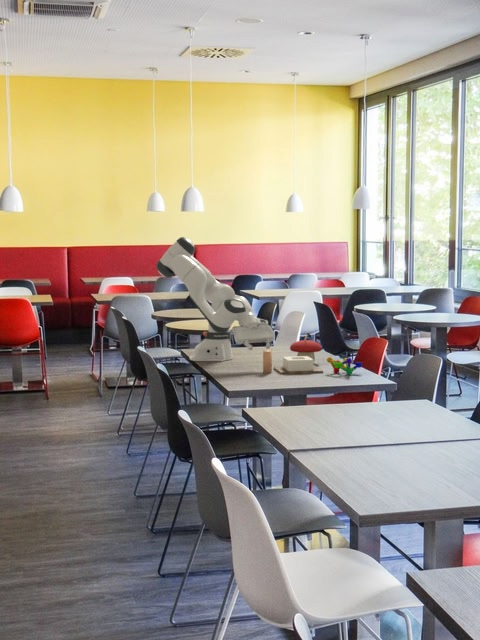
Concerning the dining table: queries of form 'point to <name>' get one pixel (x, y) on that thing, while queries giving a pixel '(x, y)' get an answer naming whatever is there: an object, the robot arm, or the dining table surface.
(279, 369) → the base board
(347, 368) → the decorative model
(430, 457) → the dining table surface
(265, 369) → the peg
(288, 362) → the socket block
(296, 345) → the mushroom
